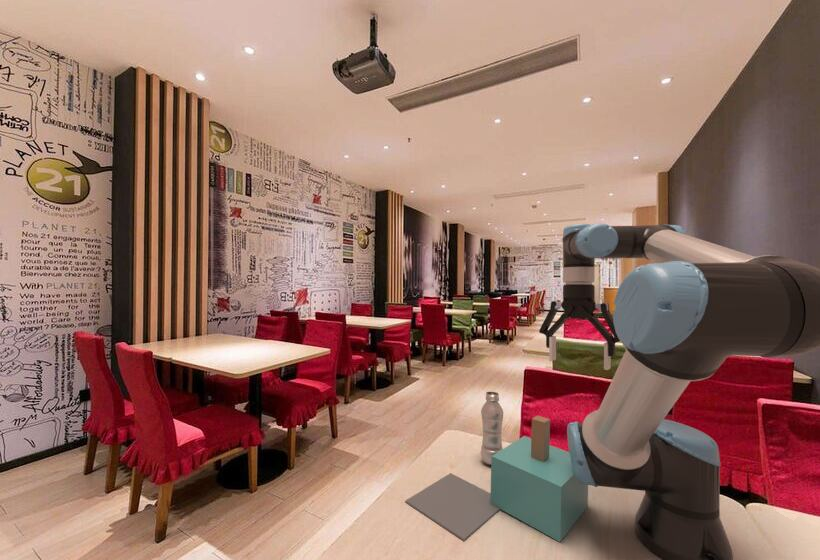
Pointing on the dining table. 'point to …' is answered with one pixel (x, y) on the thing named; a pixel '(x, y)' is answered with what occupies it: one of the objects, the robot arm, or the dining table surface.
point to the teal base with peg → (538, 483)
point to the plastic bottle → (491, 427)
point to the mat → (455, 505)
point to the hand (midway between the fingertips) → (578, 364)
